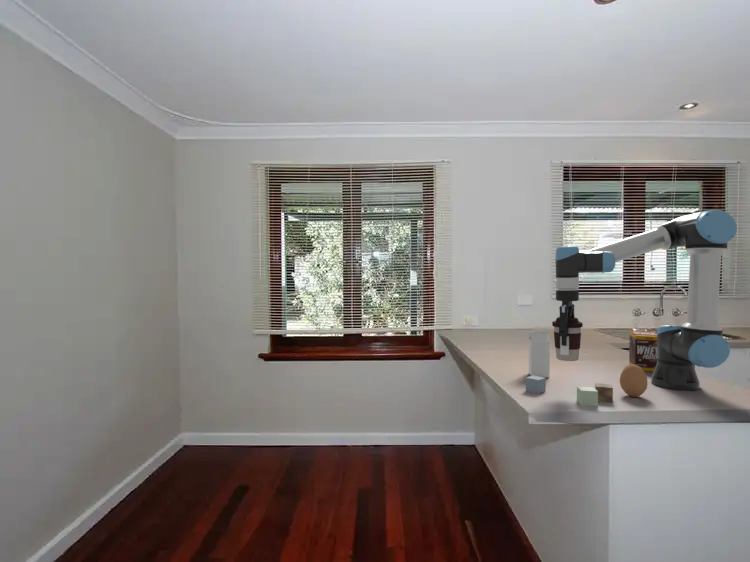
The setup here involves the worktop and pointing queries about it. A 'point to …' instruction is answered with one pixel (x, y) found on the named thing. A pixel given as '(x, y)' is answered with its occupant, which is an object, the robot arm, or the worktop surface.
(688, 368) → the robot arm
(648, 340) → the supplement box
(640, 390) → the egg
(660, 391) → the worktop surface
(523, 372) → the worktop surface
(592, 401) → the sage painted cube
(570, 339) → the coffee cup
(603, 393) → the walnut cube
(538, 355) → the milk carton
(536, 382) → the slate painted cube
